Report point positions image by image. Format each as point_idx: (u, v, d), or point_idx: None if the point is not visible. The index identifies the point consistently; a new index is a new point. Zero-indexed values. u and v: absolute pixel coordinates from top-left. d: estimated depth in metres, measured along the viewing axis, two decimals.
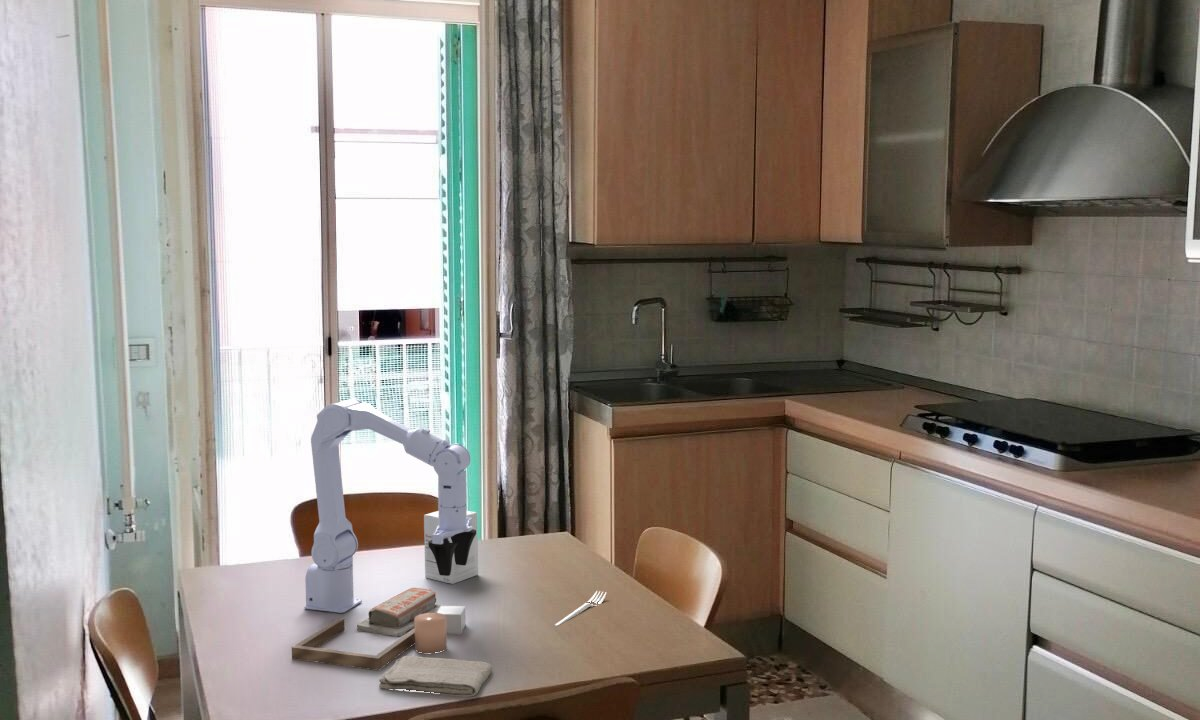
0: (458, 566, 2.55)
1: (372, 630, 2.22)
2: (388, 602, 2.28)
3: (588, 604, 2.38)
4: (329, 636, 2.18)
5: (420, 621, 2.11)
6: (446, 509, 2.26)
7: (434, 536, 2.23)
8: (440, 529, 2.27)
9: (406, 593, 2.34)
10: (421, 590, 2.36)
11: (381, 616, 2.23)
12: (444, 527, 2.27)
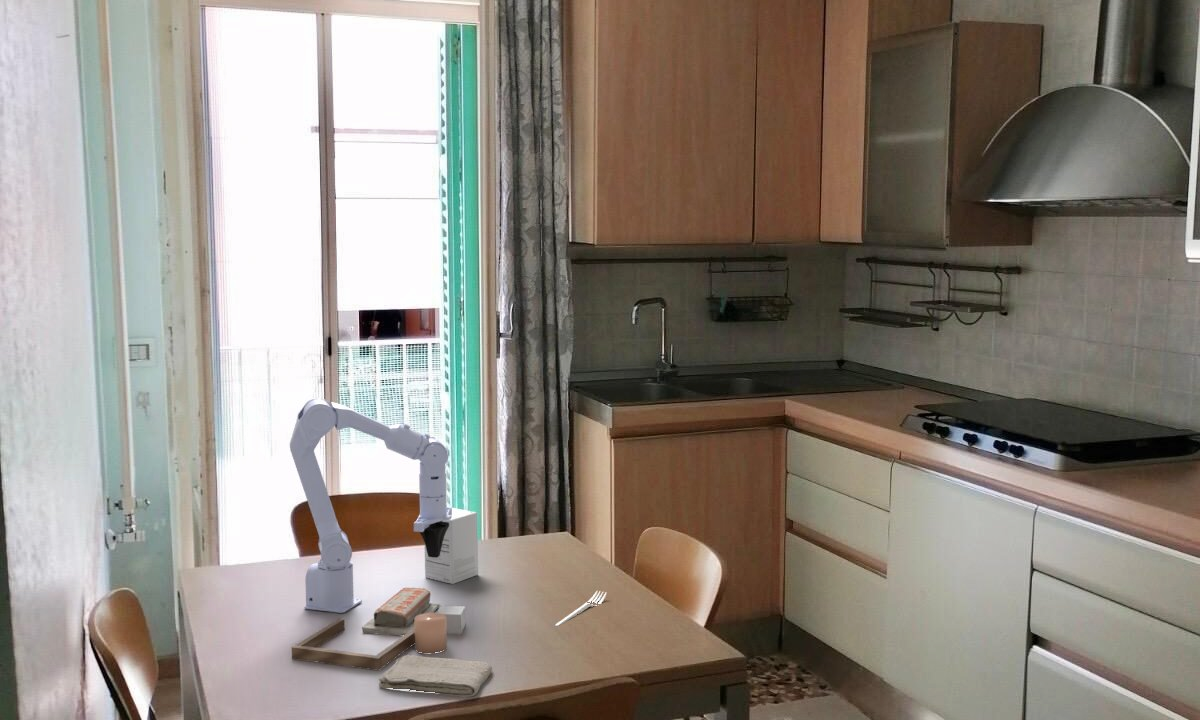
0: (458, 566, 2.55)
1: (379, 631, 2.22)
2: (390, 603, 2.27)
3: (588, 604, 2.38)
4: (329, 636, 2.18)
5: (420, 621, 2.11)
6: (427, 499, 2.39)
7: (415, 524, 2.36)
8: (421, 518, 2.40)
9: (402, 593, 2.34)
10: (415, 589, 2.36)
11: (387, 617, 2.23)
12: (425, 516, 2.40)
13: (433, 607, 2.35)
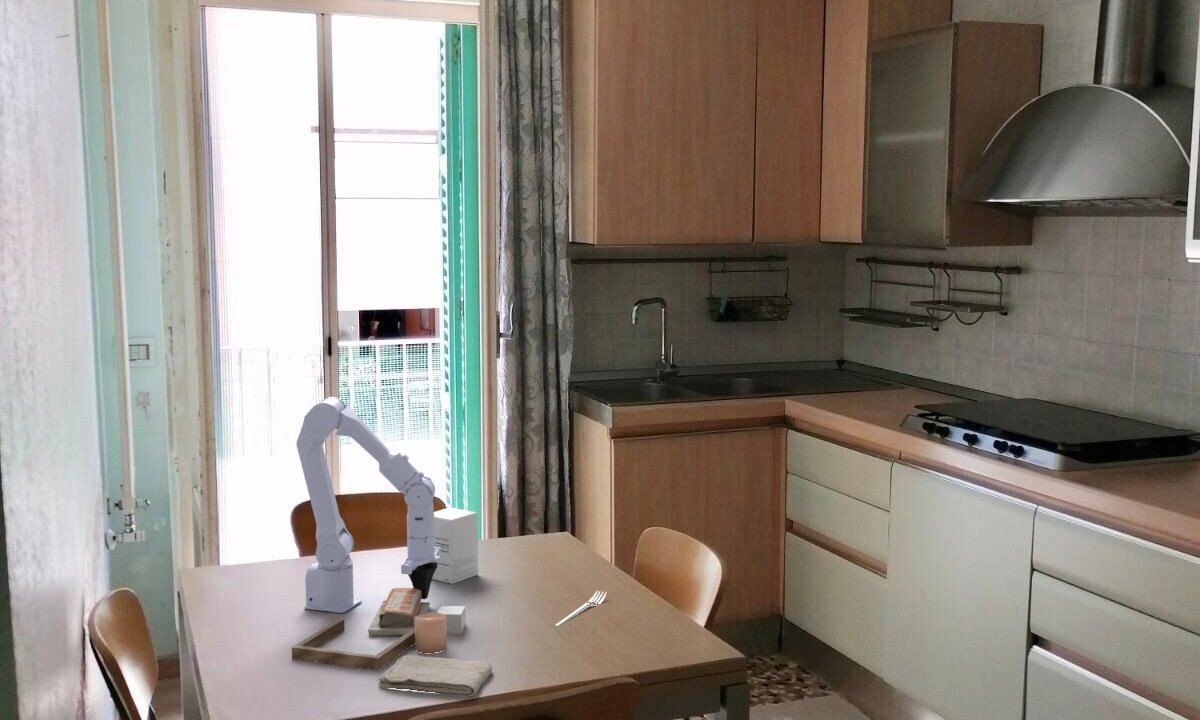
0: (458, 566, 2.55)
1: (387, 633, 2.20)
2: (390, 604, 2.26)
3: (588, 604, 2.38)
4: (329, 636, 2.18)
5: (420, 621, 2.11)
6: (414, 540, 2.35)
7: (403, 566, 2.31)
8: (409, 559, 2.36)
9: (395, 594, 2.33)
10: (406, 589, 2.36)
11: (393, 617, 2.22)
12: (413, 557, 2.35)
13: (426, 606, 2.36)
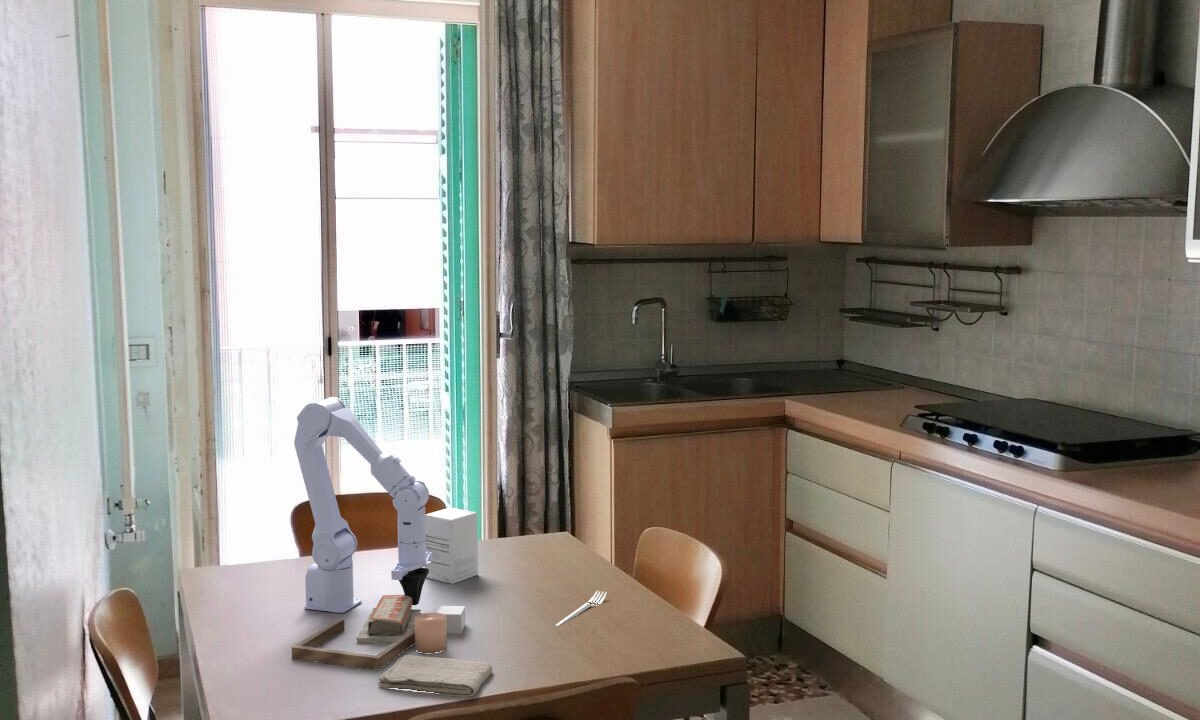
0: (458, 566, 2.55)
1: (376, 641, 2.17)
2: (380, 611, 2.22)
3: (588, 604, 2.38)
4: (329, 636, 2.18)
5: (420, 621, 2.11)
6: (405, 545, 2.31)
7: (393, 572, 2.27)
8: (400, 564, 2.32)
9: (385, 601, 2.29)
10: (397, 596, 2.32)
11: (382, 625, 2.18)
12: (403, 563, 2.31)
13: (416, 613, 2.32)
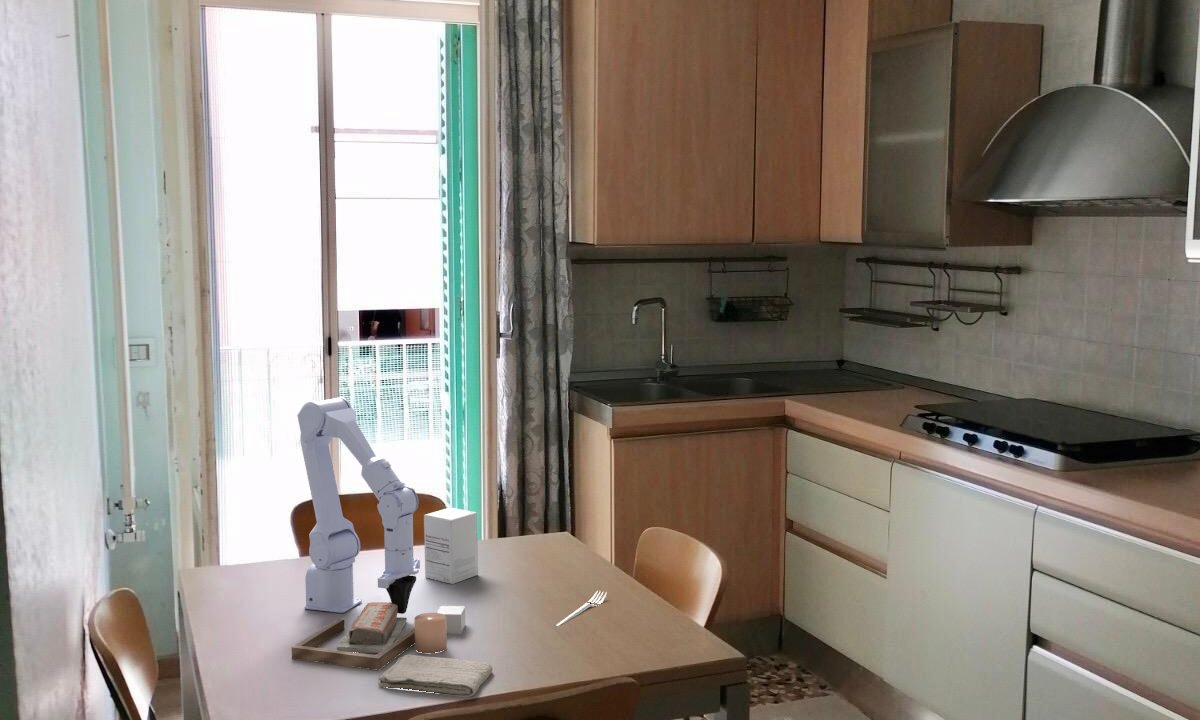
0: (458, 566, 2.55)
1: (356, 650, 2.11)
2: (362, 619, 2.17)
3: (589, 604, 2.38)
4: (329, 636, 2.18)
5: (420, 621, 2.11)
6: (392, 552, 2.25)
7: (379, 580, 2.22)
8: (386, 572, 2.26)
9: (370, 609, 2.24)
10: (382, 604, 2.27)
11: (363, 634, 2.13)
12: (390, 570, 2.26)
13: (402, 621, 2.27)
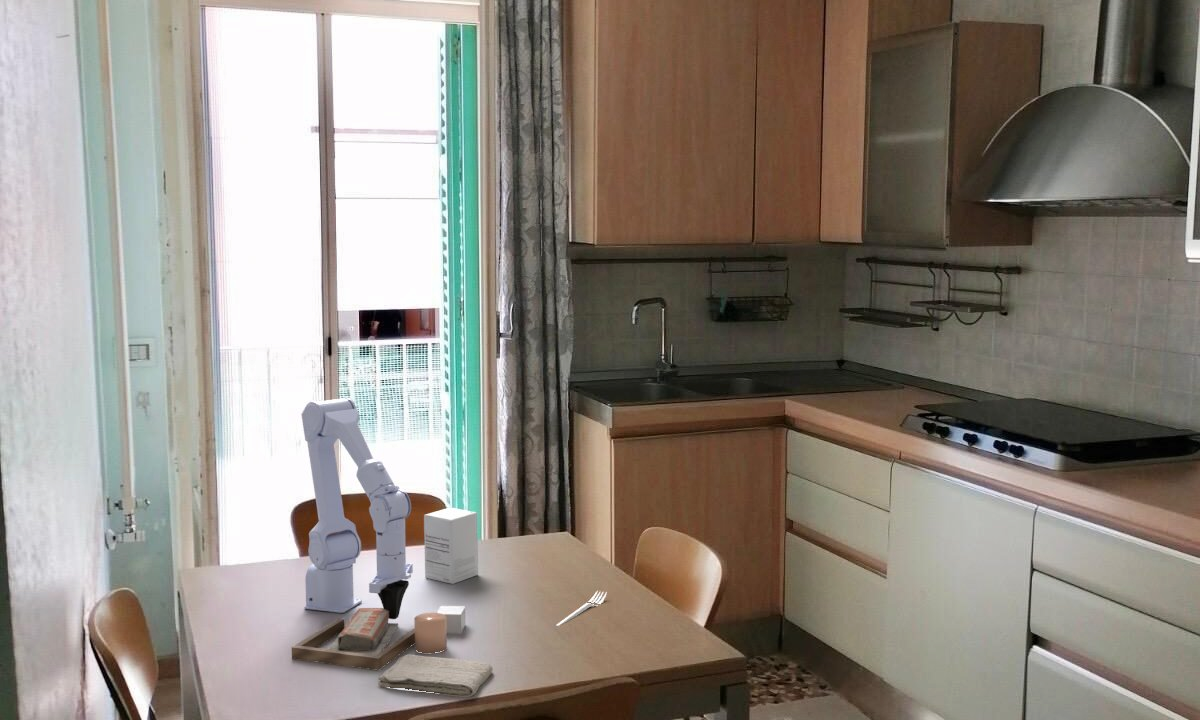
0: (458, 566, 2.55)
1: None
2: (352, 625, 2.14)
3: (589, 604, 2.38)
4: (329, 636, 2.18)
5: (420, 621, 2.11)
6: (384, 557, 2.22)
7: (371, 585, 2.19)
8: (378, 577, 2.23)
9: (360, 614, 2.21)
10: (373, 609, 2.23)
11: (352, 640, 2.10)
12: (382, 575, 2.23)
13: (393, 627, 2.23)
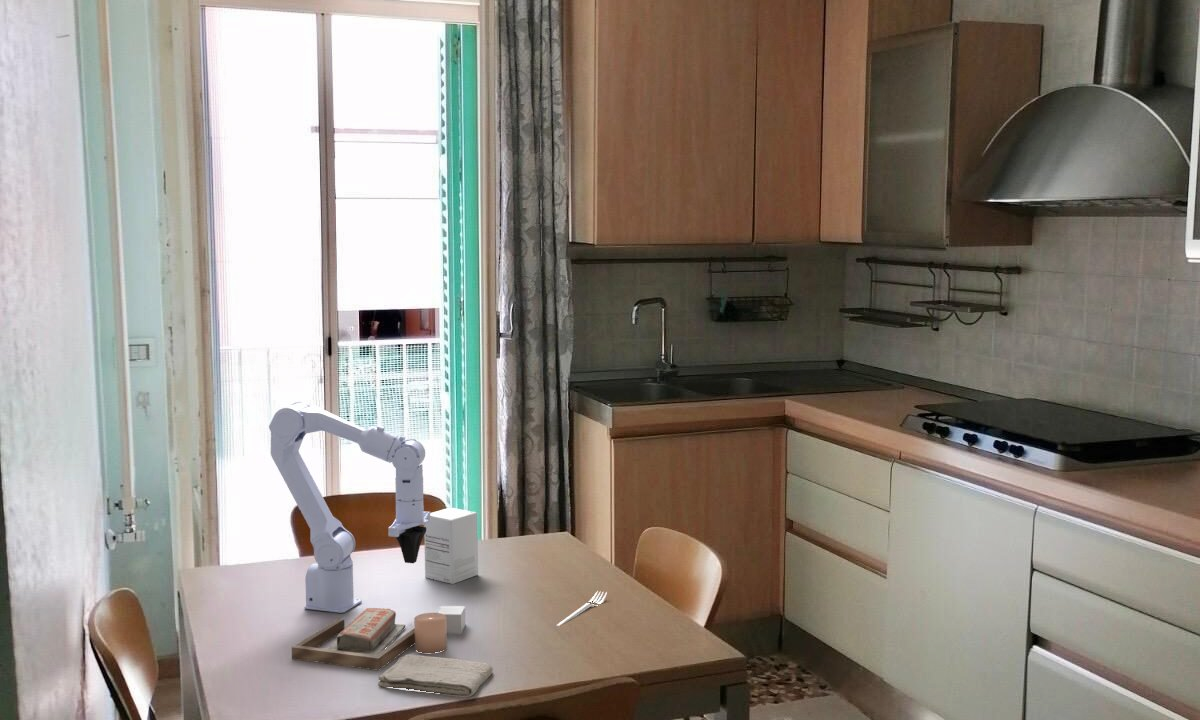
0: (458, 566, 2.55)
1: None
2: (353, 625, 2.14)
3: (589, 604, 2.38)
4: (329, 636, 2.18)
5: (420, 621, 2.11)
6: (403, 503, 2.32)
7: (390, 528, 2.29)
8: (397, 522, 2.33)
9: (366, 614, 2.21)
10: (379, 610, 2.23)
11: (351, 640, 2.10)
12: (401, 520, 2.33)
13: (399, 628, 2.23)
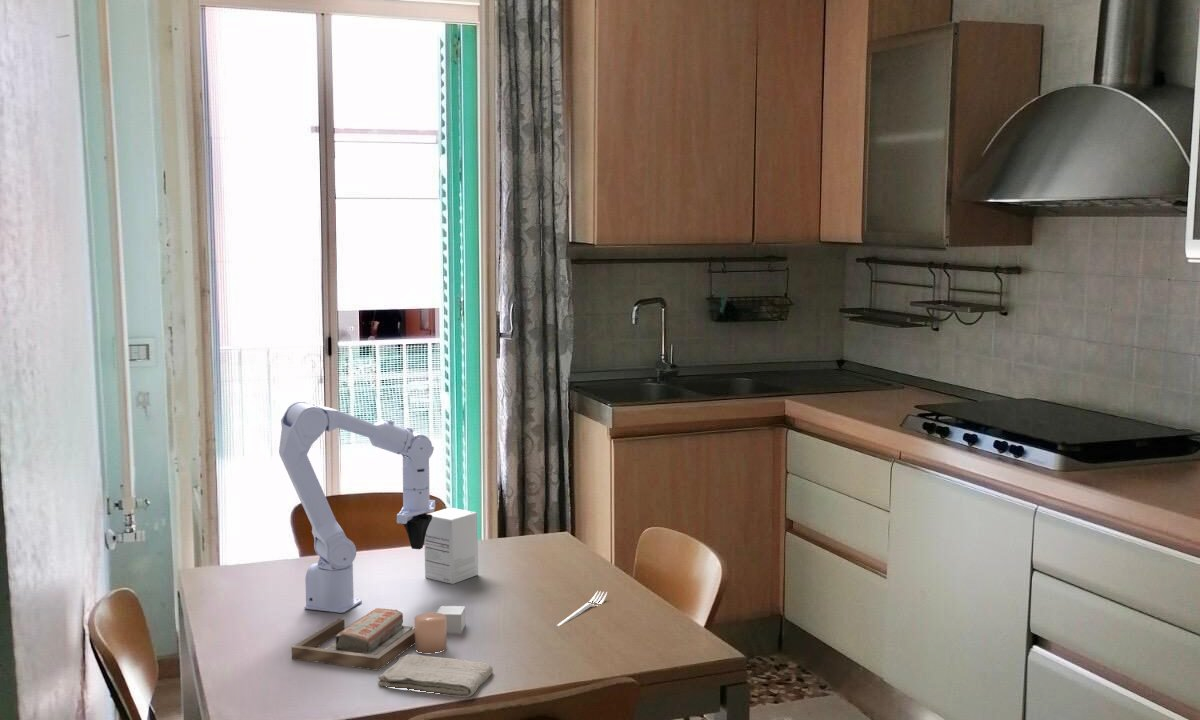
0: (458, 566, 2.55)
1: None
2: (355, 625, 2.14)
3: (589, 604, 2.38)
4: (329, 636, 2.18)
5: (420, 621, 2.11)
6: (410, 491, 2.43)
7: (398, 516, 2.39)
8: (404, 510, 2.44)
9: (372, 615, 2.21)
10: (387, 611, 2.23)
11: (349, 641, 2.09)
12: (408, 508, 2.43)
13: (405, 630, 2.22)
